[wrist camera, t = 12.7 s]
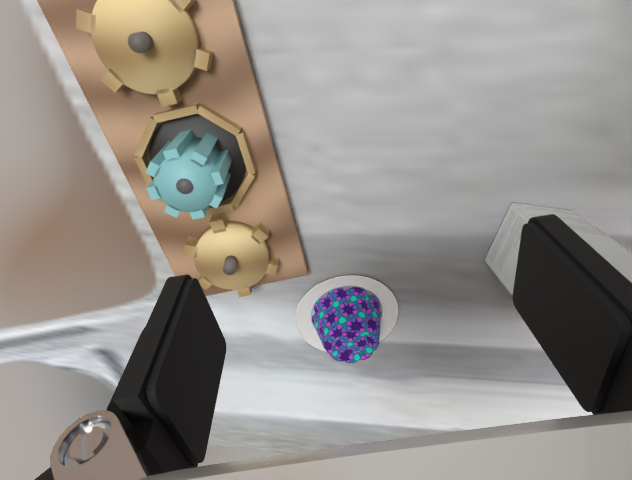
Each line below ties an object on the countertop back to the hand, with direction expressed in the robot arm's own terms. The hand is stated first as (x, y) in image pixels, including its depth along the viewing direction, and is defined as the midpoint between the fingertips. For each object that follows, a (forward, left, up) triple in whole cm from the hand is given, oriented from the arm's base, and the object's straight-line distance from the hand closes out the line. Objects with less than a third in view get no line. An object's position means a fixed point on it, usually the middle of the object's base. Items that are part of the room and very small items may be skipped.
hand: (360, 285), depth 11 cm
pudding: (+24, -1, -26) cm, 35 cm away
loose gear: (+2, -11, -23) cm, 26 cm away
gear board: (+2, -11, -25) cm, 27 cm away
